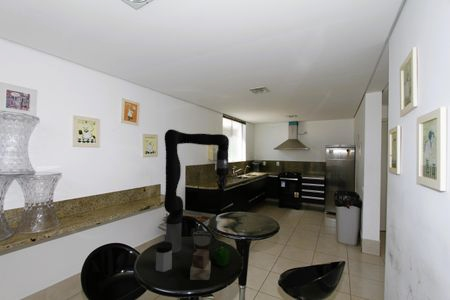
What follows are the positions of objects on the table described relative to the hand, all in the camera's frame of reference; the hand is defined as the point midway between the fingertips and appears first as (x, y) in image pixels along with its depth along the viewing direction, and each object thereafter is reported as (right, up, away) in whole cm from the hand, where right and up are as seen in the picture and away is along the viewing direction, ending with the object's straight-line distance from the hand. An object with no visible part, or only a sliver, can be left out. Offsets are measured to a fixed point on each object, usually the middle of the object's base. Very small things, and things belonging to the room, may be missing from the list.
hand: (222, 195), depth 131 cm
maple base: (-10, -35, -24) cm, 43 cm away
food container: (-13, -35, +7) cm, 38 cm away
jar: (-31, -35, -18) cm, 49 cm away
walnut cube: (-10, -30, -24) cm, 39 cm away
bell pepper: (0, -35, -13) cm, 37 cm away
